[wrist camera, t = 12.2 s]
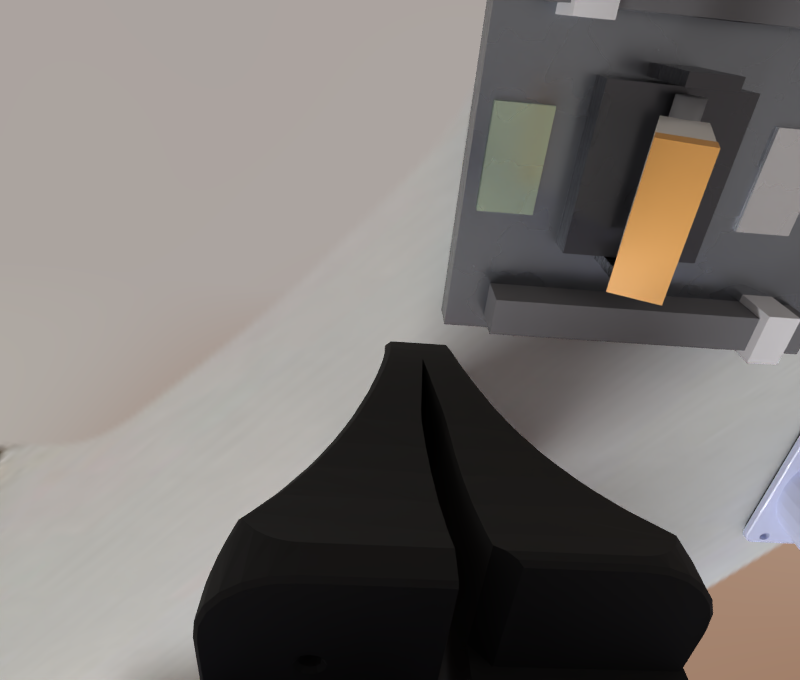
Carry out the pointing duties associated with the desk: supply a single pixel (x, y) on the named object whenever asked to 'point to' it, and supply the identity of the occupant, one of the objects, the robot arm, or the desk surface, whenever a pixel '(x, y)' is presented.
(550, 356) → the desk surface
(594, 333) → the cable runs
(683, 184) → the lever
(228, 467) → the desk surface
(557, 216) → the breaker panel
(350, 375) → the desk surface
